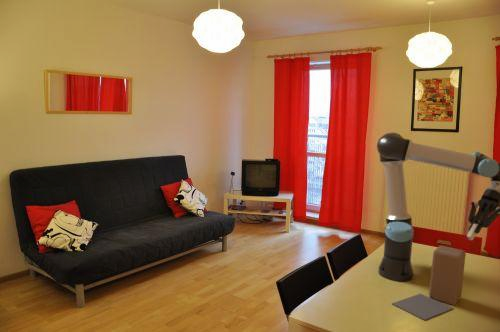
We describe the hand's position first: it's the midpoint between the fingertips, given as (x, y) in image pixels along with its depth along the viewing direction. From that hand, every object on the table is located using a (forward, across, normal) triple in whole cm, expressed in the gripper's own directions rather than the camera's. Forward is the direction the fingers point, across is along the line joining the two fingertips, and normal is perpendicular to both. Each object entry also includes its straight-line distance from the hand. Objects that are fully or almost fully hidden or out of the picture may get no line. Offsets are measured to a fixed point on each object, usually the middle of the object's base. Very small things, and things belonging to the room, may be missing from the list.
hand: (469, 238), depth 167 cm
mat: (+37, +1, -7) cm, 37 cm away
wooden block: (+27, +1, +4) cm, 27 cm away
